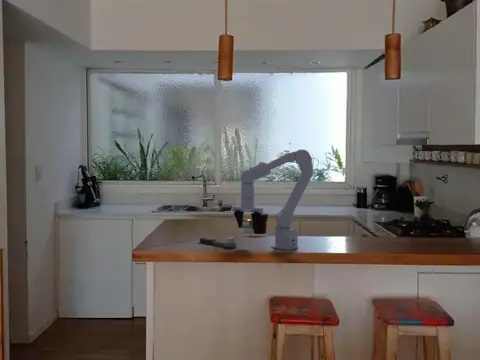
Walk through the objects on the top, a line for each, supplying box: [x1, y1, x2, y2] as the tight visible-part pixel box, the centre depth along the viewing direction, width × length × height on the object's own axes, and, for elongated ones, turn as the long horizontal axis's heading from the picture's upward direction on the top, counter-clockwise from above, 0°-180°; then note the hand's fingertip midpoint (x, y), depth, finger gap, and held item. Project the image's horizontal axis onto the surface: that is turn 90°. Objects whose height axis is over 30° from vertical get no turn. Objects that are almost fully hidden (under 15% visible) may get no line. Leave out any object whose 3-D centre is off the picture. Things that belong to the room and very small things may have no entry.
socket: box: [240, 218, 254, 234], centre depth 241 cm, size 5×5×6 cm
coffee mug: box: [253, 212, 269, 235], centre depth 283 cm, size 12×9×10 cm
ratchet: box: [199, 237, 237, 250], centre depth 246 cm, size 22×5×4 cm, turn 45°
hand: (247, 228), depth 241 cm, fingers closed on socket, 6 cm apart
